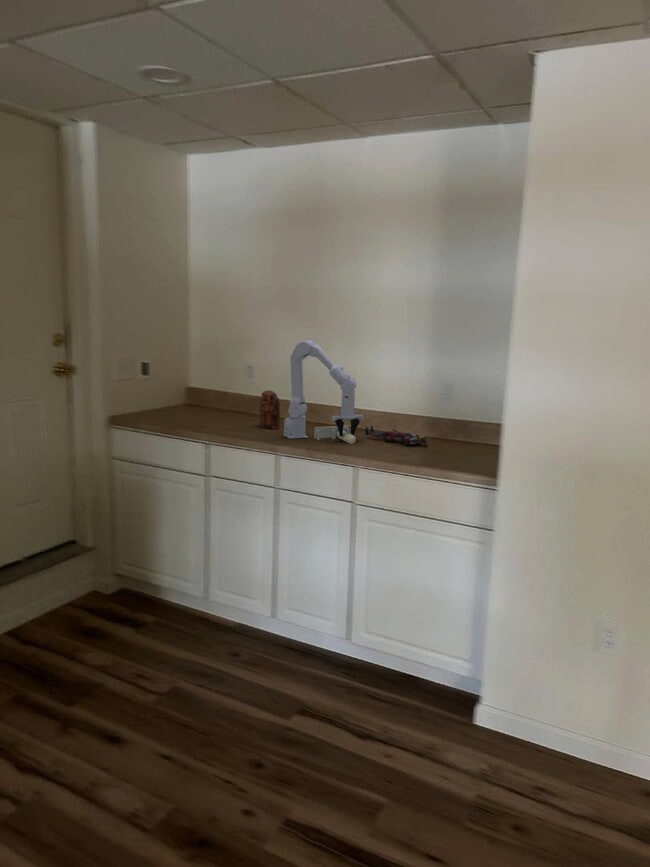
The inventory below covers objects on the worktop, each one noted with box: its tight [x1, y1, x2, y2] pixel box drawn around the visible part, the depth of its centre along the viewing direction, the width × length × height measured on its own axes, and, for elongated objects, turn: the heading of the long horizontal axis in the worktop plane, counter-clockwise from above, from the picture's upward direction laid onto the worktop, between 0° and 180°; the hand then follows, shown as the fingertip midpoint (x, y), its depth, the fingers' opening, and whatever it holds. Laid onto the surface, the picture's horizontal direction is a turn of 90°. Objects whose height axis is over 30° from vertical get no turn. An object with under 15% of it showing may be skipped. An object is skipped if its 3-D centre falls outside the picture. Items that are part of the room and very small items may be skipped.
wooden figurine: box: [259, 389, 281, 430], centre depth 317 cm, size 12×6×18 cm, turn 59°
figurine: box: [365, 425, 429, 448], centre depth 294 cm, size 13×6×30 cm
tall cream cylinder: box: [336, 431, 357, 445], centre depth 293 cm, size 12×4×4 cm, turn 22°
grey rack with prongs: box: [313, 425, 351, 441], centre depth 298 cm, size 16×4×5 cm, turn 112°
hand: (346, 435), depth 292 cm, fingers open, 5 cm apart
